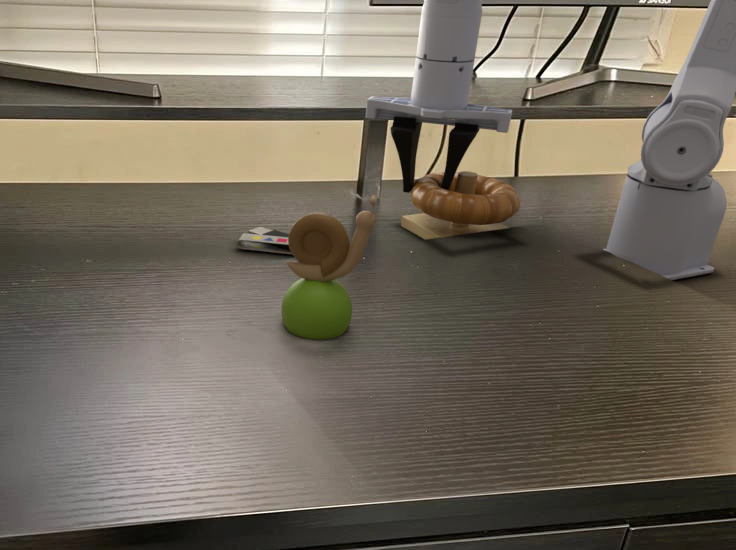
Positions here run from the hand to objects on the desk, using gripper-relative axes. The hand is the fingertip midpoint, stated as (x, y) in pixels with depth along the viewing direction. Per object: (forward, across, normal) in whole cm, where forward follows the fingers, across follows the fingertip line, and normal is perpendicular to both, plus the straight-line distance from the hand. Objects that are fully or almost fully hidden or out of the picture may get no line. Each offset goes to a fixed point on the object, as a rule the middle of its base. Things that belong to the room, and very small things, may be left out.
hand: (425, 192), depth 80 cm
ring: (0, +4, 0) cm, 4 cm away
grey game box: (+4, -12, -13) cm, 19 cm away
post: (+4, +4, 0) cm, 6 cm away
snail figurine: (+4, -2, -30) cm, 31 cm away
